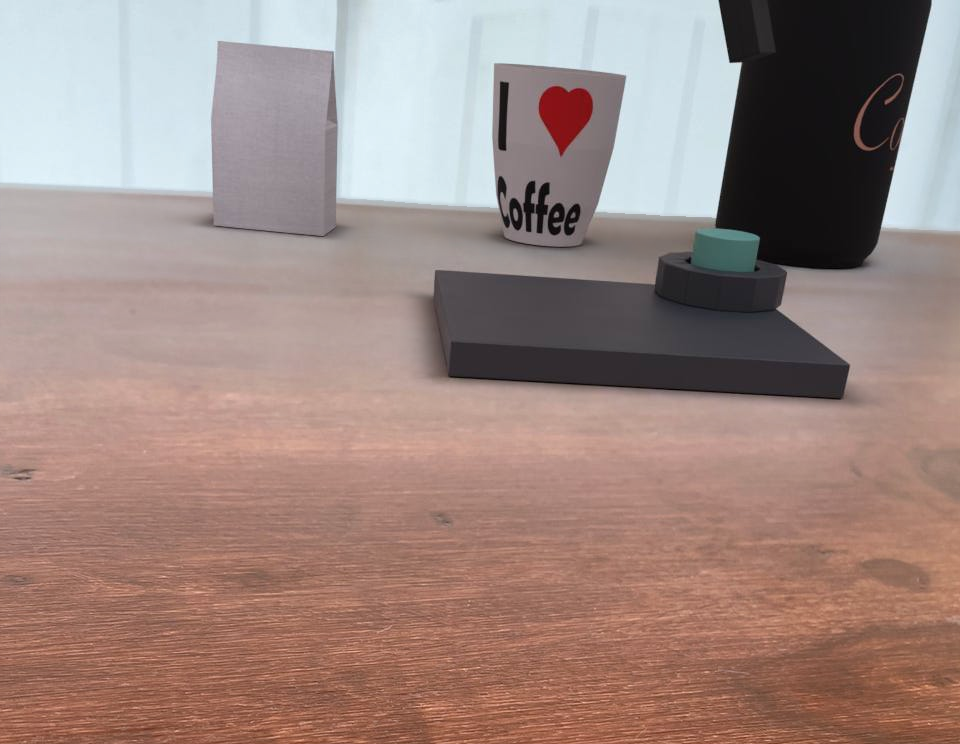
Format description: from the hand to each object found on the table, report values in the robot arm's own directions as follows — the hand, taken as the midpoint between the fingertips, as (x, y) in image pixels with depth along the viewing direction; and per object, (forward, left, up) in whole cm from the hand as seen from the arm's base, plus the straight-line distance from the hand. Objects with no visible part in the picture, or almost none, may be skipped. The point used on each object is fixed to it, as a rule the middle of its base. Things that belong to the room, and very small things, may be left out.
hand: (752, 57), depth 56 cm
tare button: (+1, +5, -9) cm, 10 cm away
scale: (+7, +9, -12) cm, 16 cm away
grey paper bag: (+24, -16, -12) cm, 31 cm away
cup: (+7, -18, -12) cm, 22 cm away
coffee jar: (-10, -19, -12) cm, 25 cm away
